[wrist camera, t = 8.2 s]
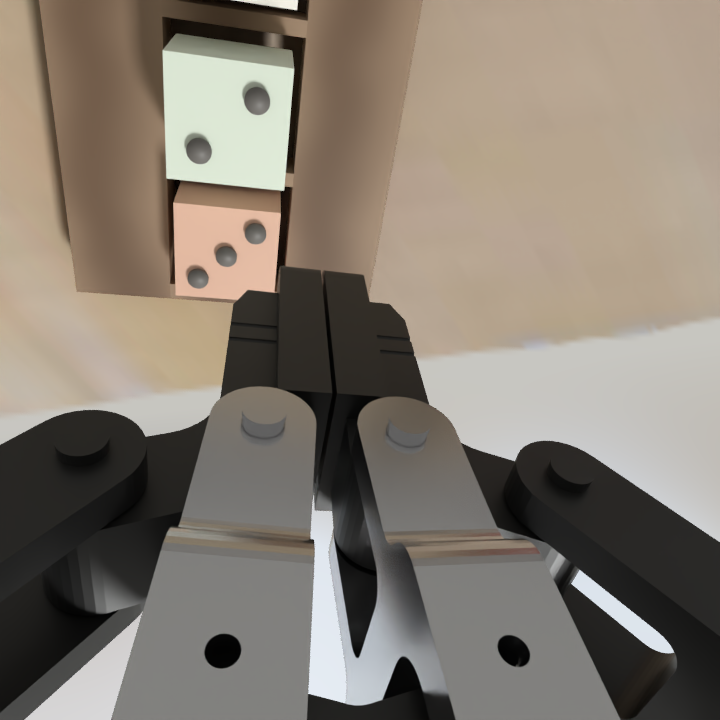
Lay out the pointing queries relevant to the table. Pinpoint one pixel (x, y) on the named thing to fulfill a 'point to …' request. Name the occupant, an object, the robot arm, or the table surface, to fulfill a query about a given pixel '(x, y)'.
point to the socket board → (147, 131)
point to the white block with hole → (275, 3)
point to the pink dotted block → (225, 239)
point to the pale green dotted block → (227, 111)
